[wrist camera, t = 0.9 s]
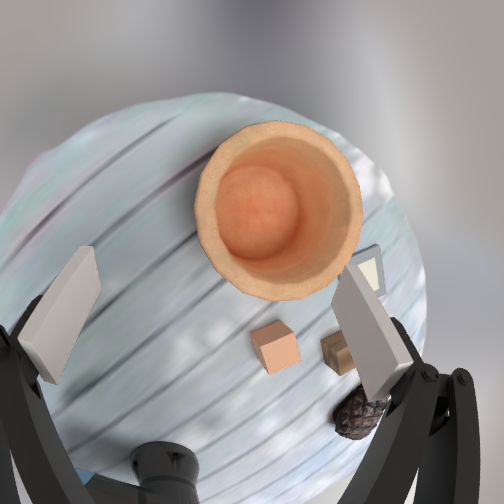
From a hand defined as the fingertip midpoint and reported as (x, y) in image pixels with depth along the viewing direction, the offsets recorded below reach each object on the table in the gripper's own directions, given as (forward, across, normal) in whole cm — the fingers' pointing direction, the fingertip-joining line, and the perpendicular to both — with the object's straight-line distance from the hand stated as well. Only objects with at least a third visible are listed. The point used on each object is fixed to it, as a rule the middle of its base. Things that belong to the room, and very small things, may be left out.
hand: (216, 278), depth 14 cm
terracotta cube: (+22, -10, +30) cm, 39 cm away
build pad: (+30, -29, +21) cm, 47 cm away
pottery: (+31, -5, +9) cm, 33 cm away
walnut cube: (+24, -25, +34) cm, 48 cm away
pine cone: (+18, -35, +49) cm, 63 cm away
